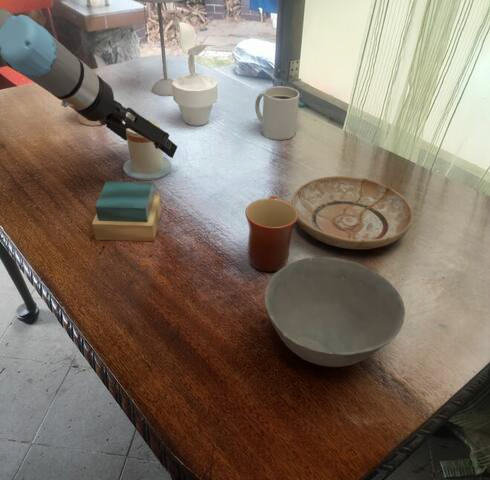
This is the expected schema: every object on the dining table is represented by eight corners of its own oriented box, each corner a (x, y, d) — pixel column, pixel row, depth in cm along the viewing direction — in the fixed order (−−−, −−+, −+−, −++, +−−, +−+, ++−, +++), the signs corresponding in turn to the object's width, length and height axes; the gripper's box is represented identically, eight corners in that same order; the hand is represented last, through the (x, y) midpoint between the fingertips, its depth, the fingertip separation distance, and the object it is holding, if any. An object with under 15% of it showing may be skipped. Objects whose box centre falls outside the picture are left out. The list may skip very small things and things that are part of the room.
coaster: (117, 161, 105) (117, 159, 105) (162, 153, 109) (162, 151, 109) (131, 184, 99) (131, 181, 98) (178, 174, 102) (178, 172, 102)
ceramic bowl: (429, 228, 91) (437, 207, 87) (359, 280, 79) (366, 258, 75) (337, 184, 102) (341, 162, 98) (264, 223, 90) (266, 201, 86)
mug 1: (299, 138, 117) (304, 98, 110) (264, 141, 115) (266, 100, 108) (286, 121, 124) (290, 82, 117) (253, 124, 122) (255, 84, 115)
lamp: (204, 85, 141) (199, -53, 116) (179, 104, 130) (168, -43, 105) (155, 76, 144) (140, -59, 120) (127, 94, 133) (105, -50, 109)
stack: (108, 207, 92) (101, 178, 88) (162, 209, 92) (158, 180, 88) (95, 239, 85) (87, 209, 80) (154, 241, 85) (150, 211, 80)
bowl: (236, 362, 66) (238, 314, 58) (296, 289, 77) (303, 241, 70) (357, 423, 59) (375, 377, 52) (402, 334, 71) (422, 286, 63)
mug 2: (290, 279, 79) (297, 230, 71) (241, 274, 79) (242, 225, 72) (293, 238, 87) (299, 190, 79) (247, 235, 87) (249, 186, 80)
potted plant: (166, 120, 122) (155, 9, 104) (200, 109, 128) (195, 2, 110) (195, 136, 116) (189, 21, 98) (229, 124, 122) (230, 14, 103)
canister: (127, 161, 104) (120, 122, 98) (157, 155, 107) (153, 117, 100) (136, 176, 100) (130, 135, 94) (168, 169, 102) (164, 130, 96)
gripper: (31, 94, 87) (103, 143, 106) (127, 130, 78) (187, 175, 97) (45, 56, 86) (116, 112, 105) (144, 88, 77) (201, 142, 97)
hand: (150, 143), depth 101 cm, fingers open, 13 cm apart
